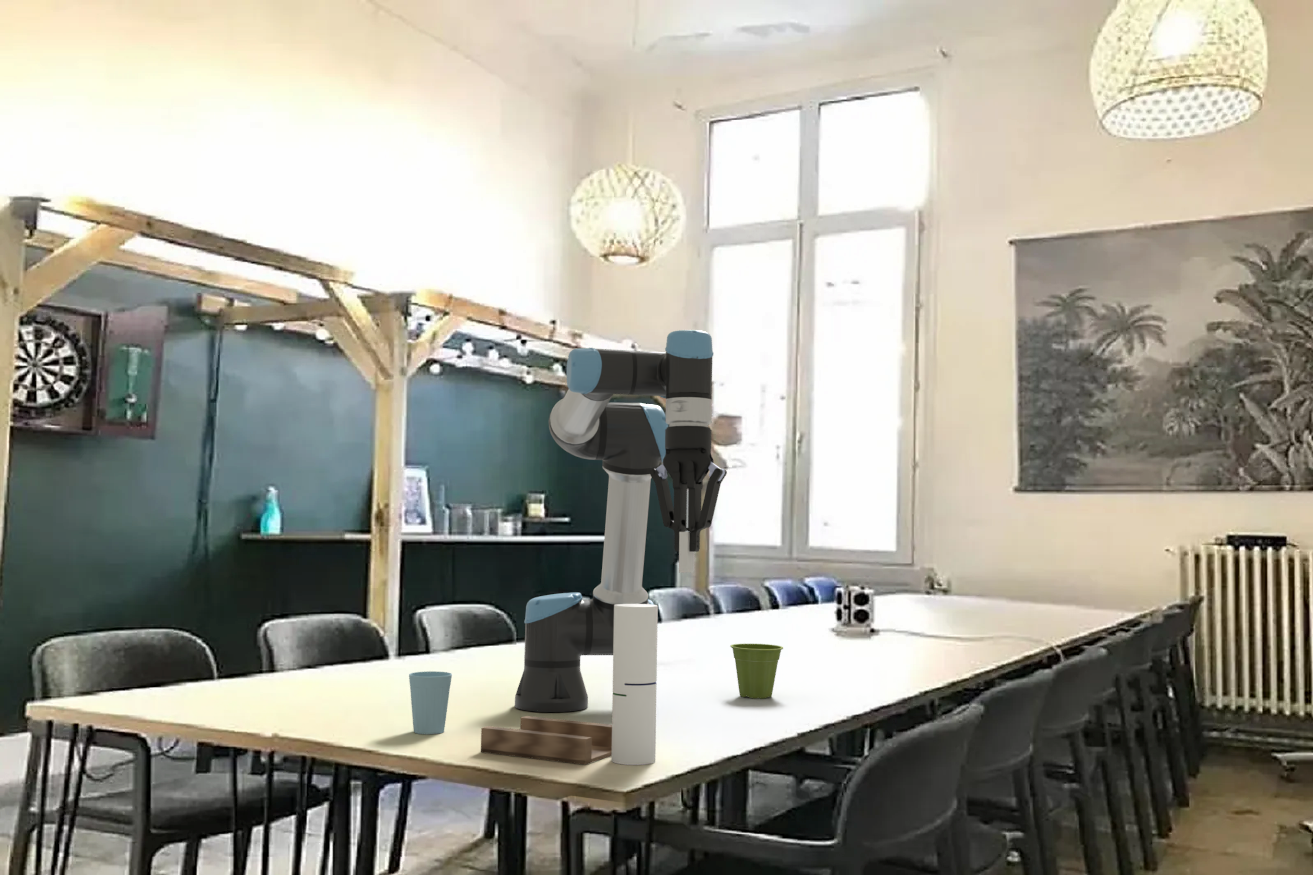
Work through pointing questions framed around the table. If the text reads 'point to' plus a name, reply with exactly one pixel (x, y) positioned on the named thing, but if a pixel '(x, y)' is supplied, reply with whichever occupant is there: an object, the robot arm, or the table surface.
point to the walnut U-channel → (550, 740)
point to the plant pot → (756, 668)
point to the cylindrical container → (634, 684)
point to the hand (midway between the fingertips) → (686, 572)
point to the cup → (429, 700)
